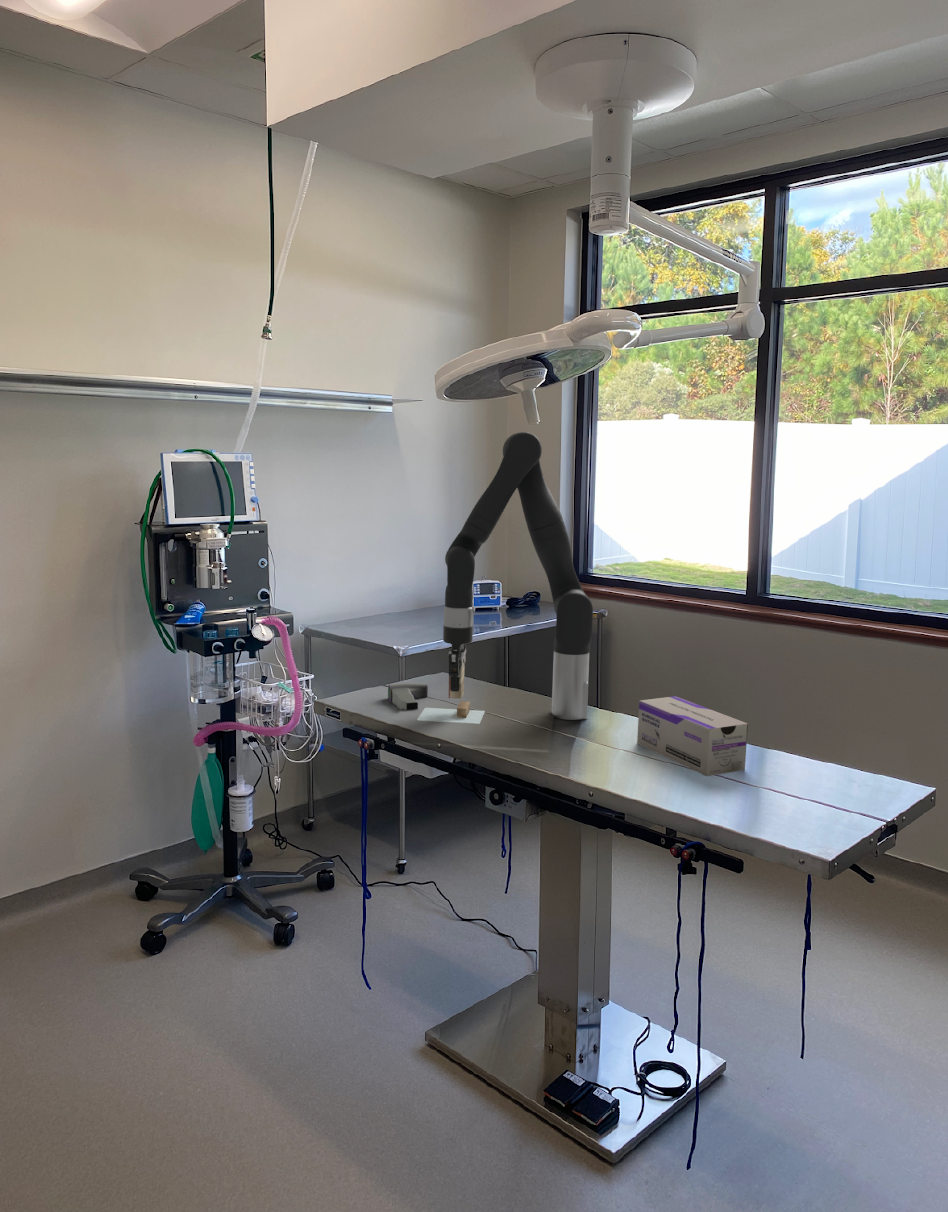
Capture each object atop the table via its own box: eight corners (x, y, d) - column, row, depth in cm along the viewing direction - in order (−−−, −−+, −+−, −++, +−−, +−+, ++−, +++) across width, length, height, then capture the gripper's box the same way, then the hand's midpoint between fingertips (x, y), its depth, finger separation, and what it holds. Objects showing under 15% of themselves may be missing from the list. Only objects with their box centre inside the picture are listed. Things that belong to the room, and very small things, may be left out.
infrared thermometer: (402, 716, 244) (384, 699, 257) (445, 712, 248) (425, 695, 262) (402, 700, 243) (384, 683, 256) (445, 696, 247) (426, 679, 261)
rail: (469, 710, 244) (469, 701, 244) (466, 717, 237) (466, 708, 237) (460, 710, 244) (460, 701, 244) (456, 717, 238) (457, 708, 237)
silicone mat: (485, 713, 244) (485, 710, 244) (479, 726, 233) (479, 723, 232) (425, 709, 246) (425, 707, 246) (416, 722, 234) (416, 720, 234)
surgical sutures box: (637, 743, 222) (639, 700, 220) (673, 738, 226) (675, 696, 224) (706, 777, 199) (709, 729, 198) (744, 770, 204) (747, 723, 202)
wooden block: (463, 693, 243) (464, 661, 241) (460, 698, 237) (461, 666, 236) (451, 692, 243) (452, 660, 242) (448, 697, 238) (449, 665, 236)
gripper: (469, 629, 230) (467, 696, 233) (476, 619, 244) (474, 682, 247) (439, 628, 231) (437, 694, 233) (448, 618, 245) (446, 680, 248)
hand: (456, 687), depth 240 cm, fingers closed on wooden block, 5 cm apart
